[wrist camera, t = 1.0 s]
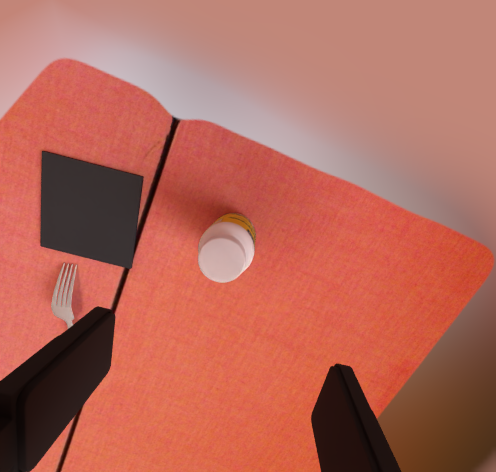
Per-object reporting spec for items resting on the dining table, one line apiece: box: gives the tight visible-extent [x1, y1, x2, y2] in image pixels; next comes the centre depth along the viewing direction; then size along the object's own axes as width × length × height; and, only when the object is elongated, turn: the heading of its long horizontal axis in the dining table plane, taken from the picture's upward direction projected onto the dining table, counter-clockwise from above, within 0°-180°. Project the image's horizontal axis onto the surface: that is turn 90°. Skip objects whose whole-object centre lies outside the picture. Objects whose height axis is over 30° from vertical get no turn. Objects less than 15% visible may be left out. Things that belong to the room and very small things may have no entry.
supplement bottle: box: [198, 213, 256, 283], centre depth 24 cm, size 5×5×10 cm
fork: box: [51, 263, 77, 329], centre depth 34 cm, size 3×21×3 cm, turn 173°
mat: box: [40, 151, 143, 269], centre depth 29 cm, size 12×12×1 cm
